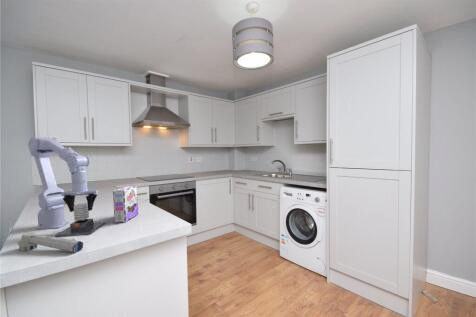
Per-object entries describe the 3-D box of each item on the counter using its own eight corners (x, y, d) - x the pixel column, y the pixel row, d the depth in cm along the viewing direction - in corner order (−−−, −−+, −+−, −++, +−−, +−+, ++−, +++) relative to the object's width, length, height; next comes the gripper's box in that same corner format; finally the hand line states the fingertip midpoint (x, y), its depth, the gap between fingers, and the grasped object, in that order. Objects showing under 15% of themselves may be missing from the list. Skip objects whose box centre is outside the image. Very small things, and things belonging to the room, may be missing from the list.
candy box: (125, 222, 108) (123, 190, 107) (114, 223, 108) (112, 190, 107) (138, 214, 121) (137, 185, 121) (128, 214, 122) (127, 185, 121)
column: (74, 220, 97) (73, 205, 97) (79, 217, 101) (78, 203, 101) (84, 220, 98) (83, 205, 97) (89, 217, 102) (88, 203, 101)
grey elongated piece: (72, 244, 75) (14, 232, 79) (71, 263, 75) (13, 249, 79) (85, 238, 80) (30, 227, 84) (84, 255, 81) (29, 243, 85)
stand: (55, 237, 92) (54, 227, 92) (75, 225, 106) (74, 217, 105) (90, 234, 94) (90, 225, 94) (105, 223, 108) (105, 215, 107)
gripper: (55, 183, 94) (58, 214, 94) (92, 182, 96) (93, 212, 96) (66, 181, 101) (68, 210, 101) (99, 179, 103) (101, 207, 103)
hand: (81, 210), depth 99 cm, fingers open, 7 cm apart
